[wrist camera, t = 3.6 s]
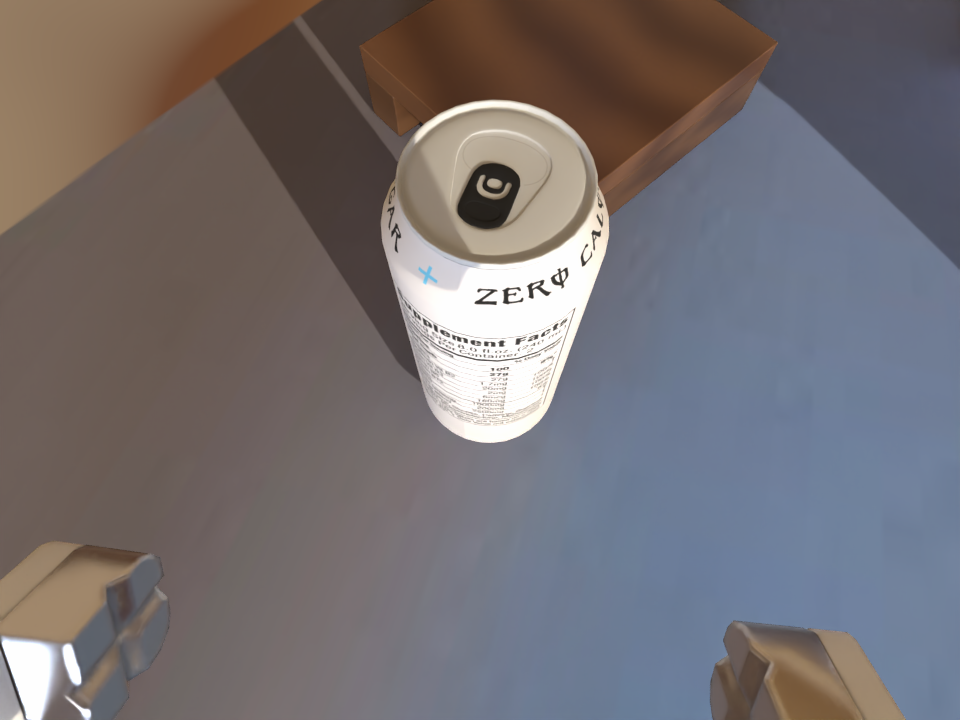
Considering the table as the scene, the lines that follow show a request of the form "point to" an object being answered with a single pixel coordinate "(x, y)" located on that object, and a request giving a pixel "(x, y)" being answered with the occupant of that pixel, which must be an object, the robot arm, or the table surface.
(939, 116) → the table surface
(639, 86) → the platform
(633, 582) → the table surface
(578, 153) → the energy drink can
